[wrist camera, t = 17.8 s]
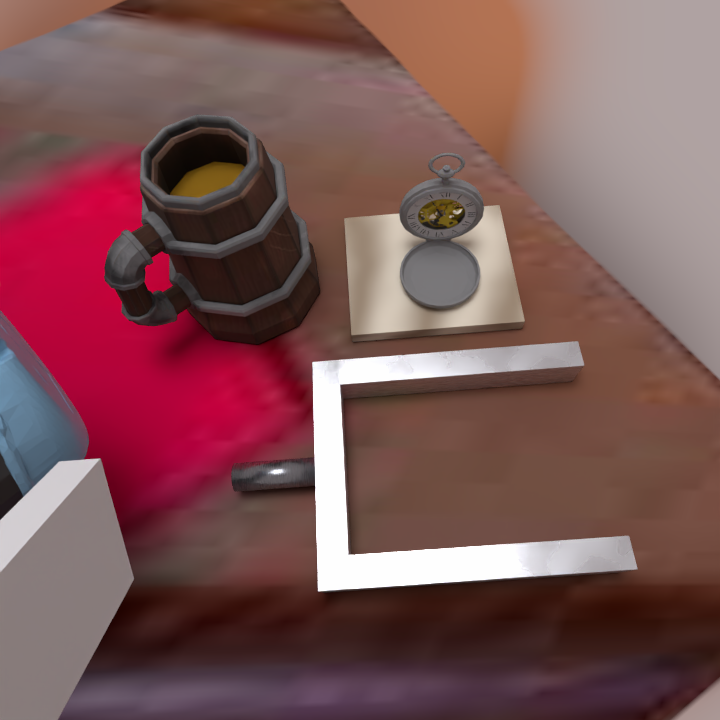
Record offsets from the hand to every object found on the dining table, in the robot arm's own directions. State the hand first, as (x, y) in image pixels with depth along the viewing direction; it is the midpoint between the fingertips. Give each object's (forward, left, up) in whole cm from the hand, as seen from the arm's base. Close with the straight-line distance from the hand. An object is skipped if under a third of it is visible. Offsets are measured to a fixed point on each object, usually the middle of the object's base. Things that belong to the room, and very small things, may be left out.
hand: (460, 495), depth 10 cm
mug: (-13, +24, -30) cm, 40 cm away
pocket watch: (+5, +25, -29) cm, 38 cm away
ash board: (+4, +25, -30) cm, 39 cm away
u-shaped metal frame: (+1, +8, -30) cm, 31 cm away
